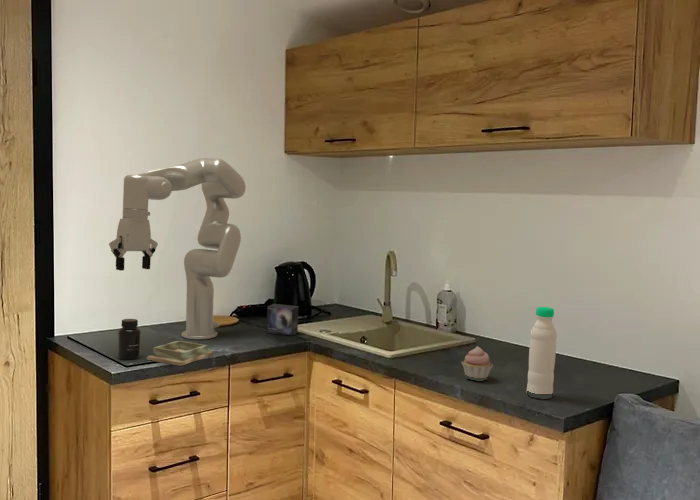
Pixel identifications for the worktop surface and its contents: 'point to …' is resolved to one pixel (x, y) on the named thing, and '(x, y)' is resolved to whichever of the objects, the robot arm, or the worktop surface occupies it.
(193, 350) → the board
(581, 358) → the worktop surface
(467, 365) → the cupcake
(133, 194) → the robot arm
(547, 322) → the white milk bottle
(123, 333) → the supplement bottle
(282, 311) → the small box
